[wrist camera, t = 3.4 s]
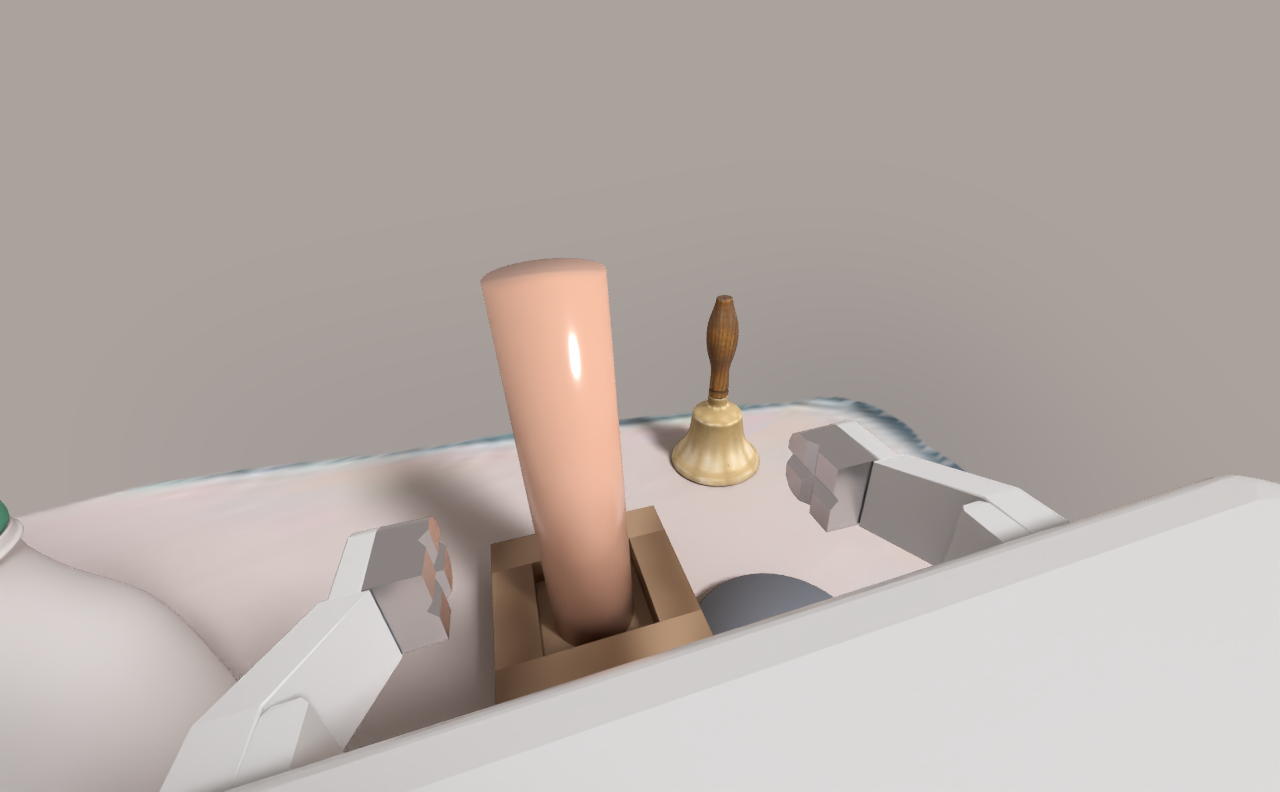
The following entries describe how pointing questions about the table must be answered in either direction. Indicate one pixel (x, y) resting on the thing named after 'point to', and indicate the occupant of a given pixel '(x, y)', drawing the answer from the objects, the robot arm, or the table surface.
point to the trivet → (756, 600)
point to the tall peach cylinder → (567, 435)
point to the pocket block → (545, 660)
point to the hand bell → (717, 415)
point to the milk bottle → (92, 677)
